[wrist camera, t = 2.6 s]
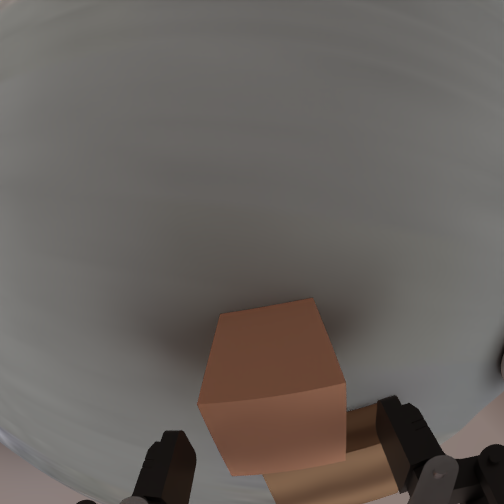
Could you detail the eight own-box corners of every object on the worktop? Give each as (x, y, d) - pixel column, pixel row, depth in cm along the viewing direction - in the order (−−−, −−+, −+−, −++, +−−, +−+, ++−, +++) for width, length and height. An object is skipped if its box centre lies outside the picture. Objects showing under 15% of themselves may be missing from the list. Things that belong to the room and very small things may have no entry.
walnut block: (259, 425, 19) (259, 468, 15) (395, 393, 18) (415, 431, 14) (282, 485, 21) (284, 518, 17) (386, 461, 20) (397, 492, 16)
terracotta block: (220, 313, 16) (196, 404, 9) (312, 297, 15) (346, 382, 9) (240, 383, 17) (232, 476, 10) (321, 370, 17) (345, 460, 10)
